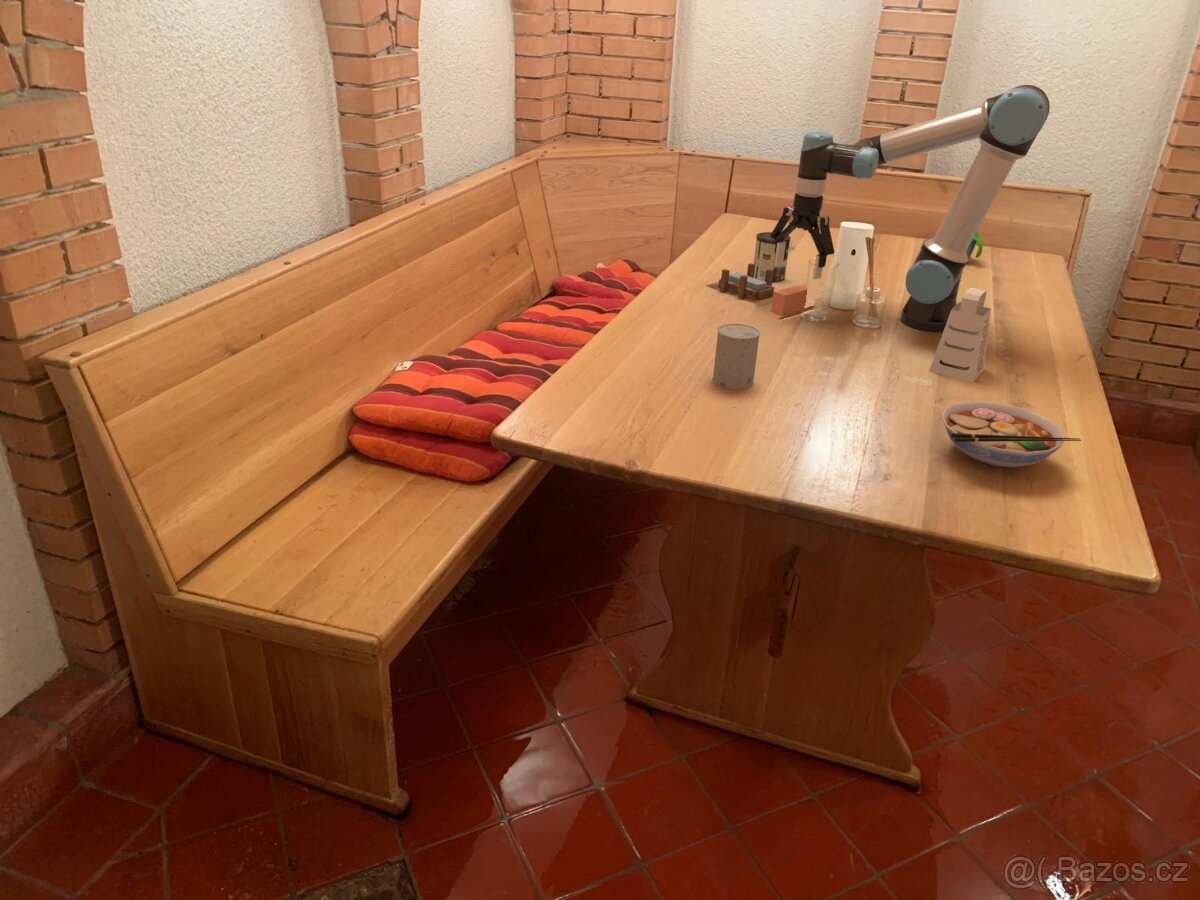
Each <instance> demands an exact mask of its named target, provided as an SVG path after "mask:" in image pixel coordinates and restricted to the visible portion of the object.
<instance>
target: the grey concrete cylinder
mask: <svg viewBox="0 0 1200 900" xmlns="http://www.w3.org/2000/svg"><path fill="white" fill-rule="evenodd" d="M760 334H761V331H760V330H759V329H758V328H756V327H754V326H751V325H748V324H743V323H727V324H723V325H721V326H719V327H718V328H717V337H716V346H715V354H714V355H715V357H714V365H713V366H714V367H713V373H712V375H713V376H712V381H713V383H714V384H715V385H718V387H722V388H725V389H730V390H744V389H749V388H750V387H752V386H754V384H755V383H754V379H755V371H756V365H757V357H758V351H759V350H758V348H759V342H760V336H761V335H760Z"/></svg>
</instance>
